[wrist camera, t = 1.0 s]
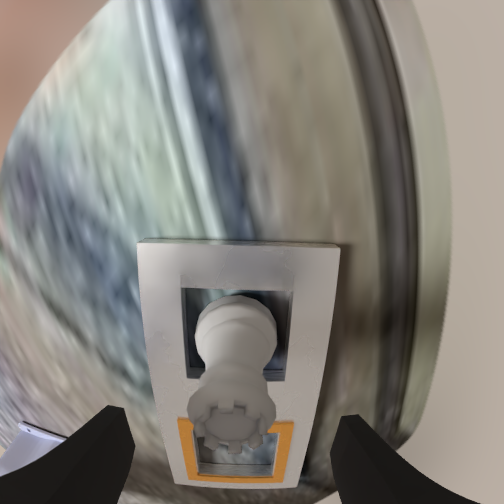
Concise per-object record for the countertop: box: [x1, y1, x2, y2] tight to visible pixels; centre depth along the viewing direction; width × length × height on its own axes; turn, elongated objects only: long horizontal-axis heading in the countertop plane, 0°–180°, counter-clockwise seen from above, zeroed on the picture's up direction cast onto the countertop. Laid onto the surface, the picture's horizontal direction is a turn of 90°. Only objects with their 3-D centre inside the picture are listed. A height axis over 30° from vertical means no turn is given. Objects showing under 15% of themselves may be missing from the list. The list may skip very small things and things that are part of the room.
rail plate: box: [137, 238, 340, 489], centre depth 17 cm, size 10×20×1 cm, turn 178°
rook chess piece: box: [187, 295, 277, 454], centre depth 13 cm, size 4×4×8 cm
